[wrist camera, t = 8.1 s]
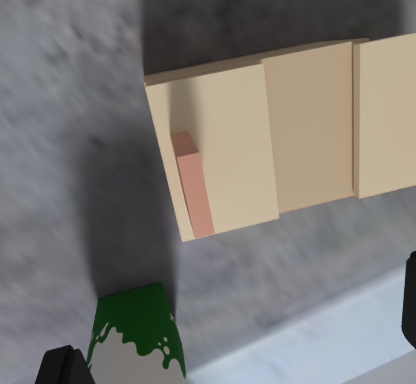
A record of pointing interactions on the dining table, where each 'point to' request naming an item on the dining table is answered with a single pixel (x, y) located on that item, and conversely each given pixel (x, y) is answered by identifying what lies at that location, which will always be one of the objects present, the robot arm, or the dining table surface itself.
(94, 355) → the soya milk
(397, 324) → the dining table surface
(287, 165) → the carton
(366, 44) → the flap
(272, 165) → the flap
